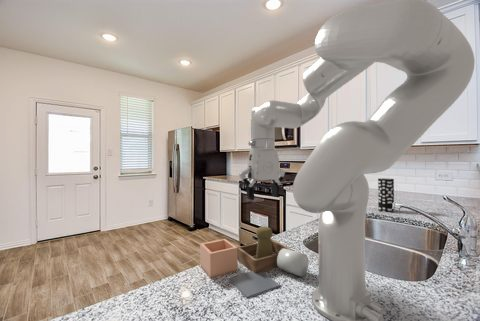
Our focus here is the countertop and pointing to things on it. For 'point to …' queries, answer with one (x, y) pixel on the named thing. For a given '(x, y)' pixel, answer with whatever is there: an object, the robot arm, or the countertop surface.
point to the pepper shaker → (264, 242)
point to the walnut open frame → (260, 264)
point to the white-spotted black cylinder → (385, 194)
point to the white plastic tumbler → (292, 262)
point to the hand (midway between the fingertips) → (263, 197)
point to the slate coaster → (253, 283)
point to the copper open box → (218, 258)
